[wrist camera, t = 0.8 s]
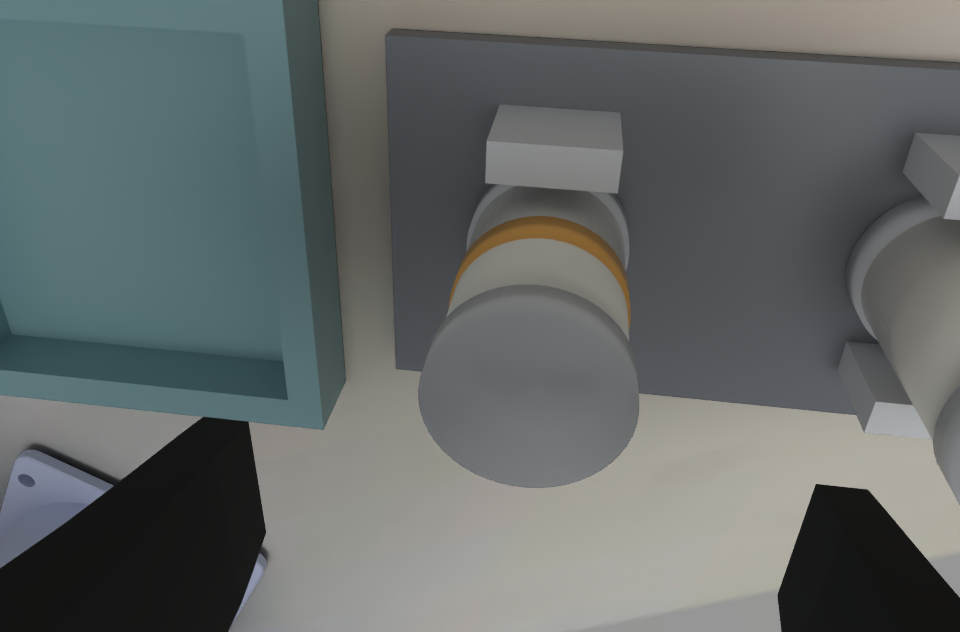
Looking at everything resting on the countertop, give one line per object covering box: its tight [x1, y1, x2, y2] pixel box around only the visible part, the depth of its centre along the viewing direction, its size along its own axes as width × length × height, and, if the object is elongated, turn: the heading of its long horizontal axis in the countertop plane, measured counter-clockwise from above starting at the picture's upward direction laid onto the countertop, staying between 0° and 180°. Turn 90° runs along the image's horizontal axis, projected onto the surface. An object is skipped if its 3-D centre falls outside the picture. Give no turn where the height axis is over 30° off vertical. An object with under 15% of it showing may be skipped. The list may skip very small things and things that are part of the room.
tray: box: [0, 0, 346, 430], centre depth 18 cm, size 10×10×2 cm
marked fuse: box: [418, 184, 639, 488], centre depth 15 cm, size 3×3×6 cm
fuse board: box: [385, 29, 960, 439], centre depth 16 cm, size 15×8×3 cm, turn 89°
